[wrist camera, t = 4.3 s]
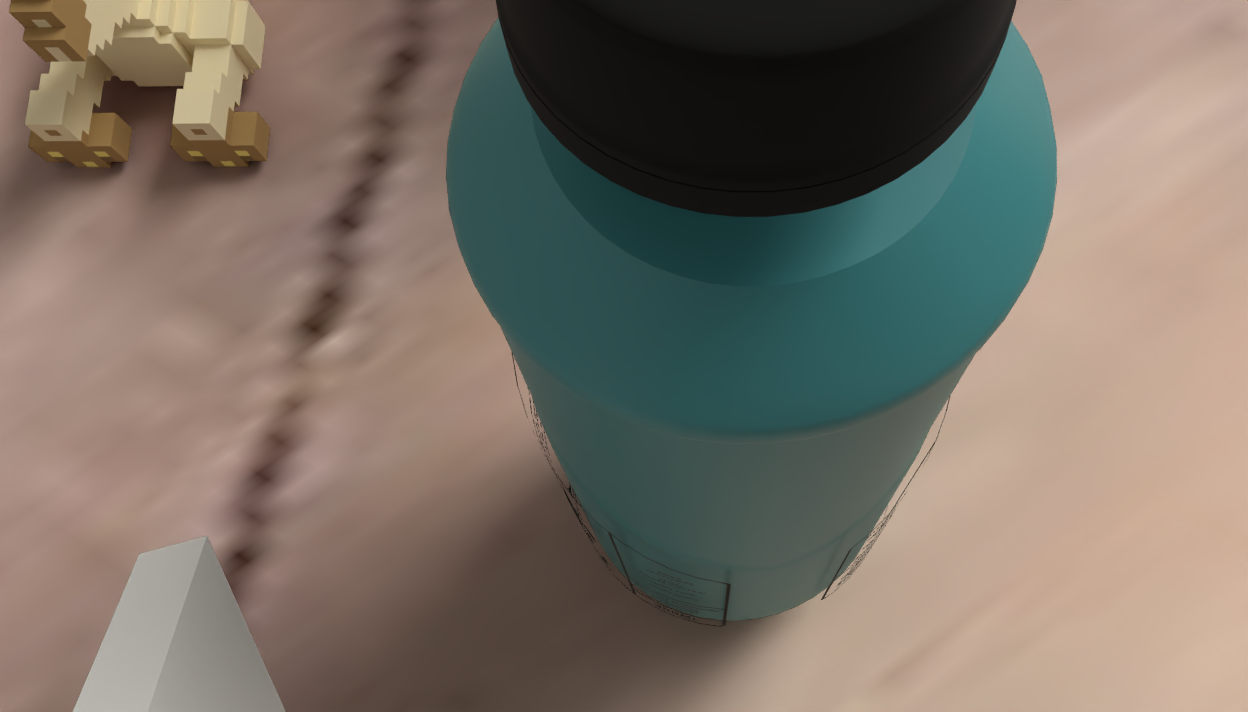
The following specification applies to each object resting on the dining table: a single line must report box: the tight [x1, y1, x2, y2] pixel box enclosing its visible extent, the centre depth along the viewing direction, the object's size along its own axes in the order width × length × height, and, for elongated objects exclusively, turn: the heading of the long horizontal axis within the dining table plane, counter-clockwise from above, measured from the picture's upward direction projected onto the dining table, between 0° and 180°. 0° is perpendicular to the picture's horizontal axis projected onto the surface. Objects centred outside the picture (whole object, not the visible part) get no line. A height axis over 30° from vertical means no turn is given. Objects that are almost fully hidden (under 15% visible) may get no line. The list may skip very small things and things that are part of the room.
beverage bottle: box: [446, 0, 1057, 626], centre depth 17 cm, size 6×7×20 cm
